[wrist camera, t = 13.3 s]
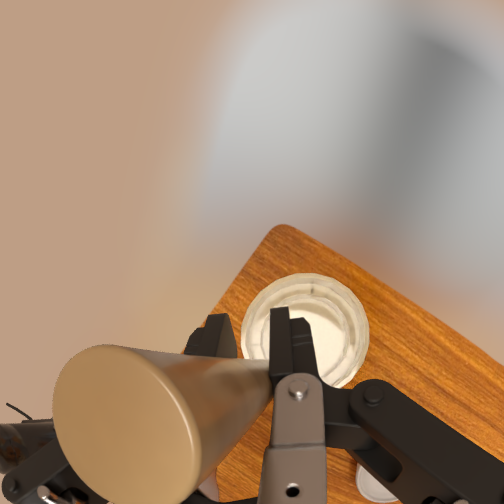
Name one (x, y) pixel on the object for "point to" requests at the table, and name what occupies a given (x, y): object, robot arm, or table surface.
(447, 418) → the table surface
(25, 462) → the robot arm
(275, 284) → the bowl
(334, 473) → the table surface
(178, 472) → the stick
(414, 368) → the table surface
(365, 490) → the ramekin
